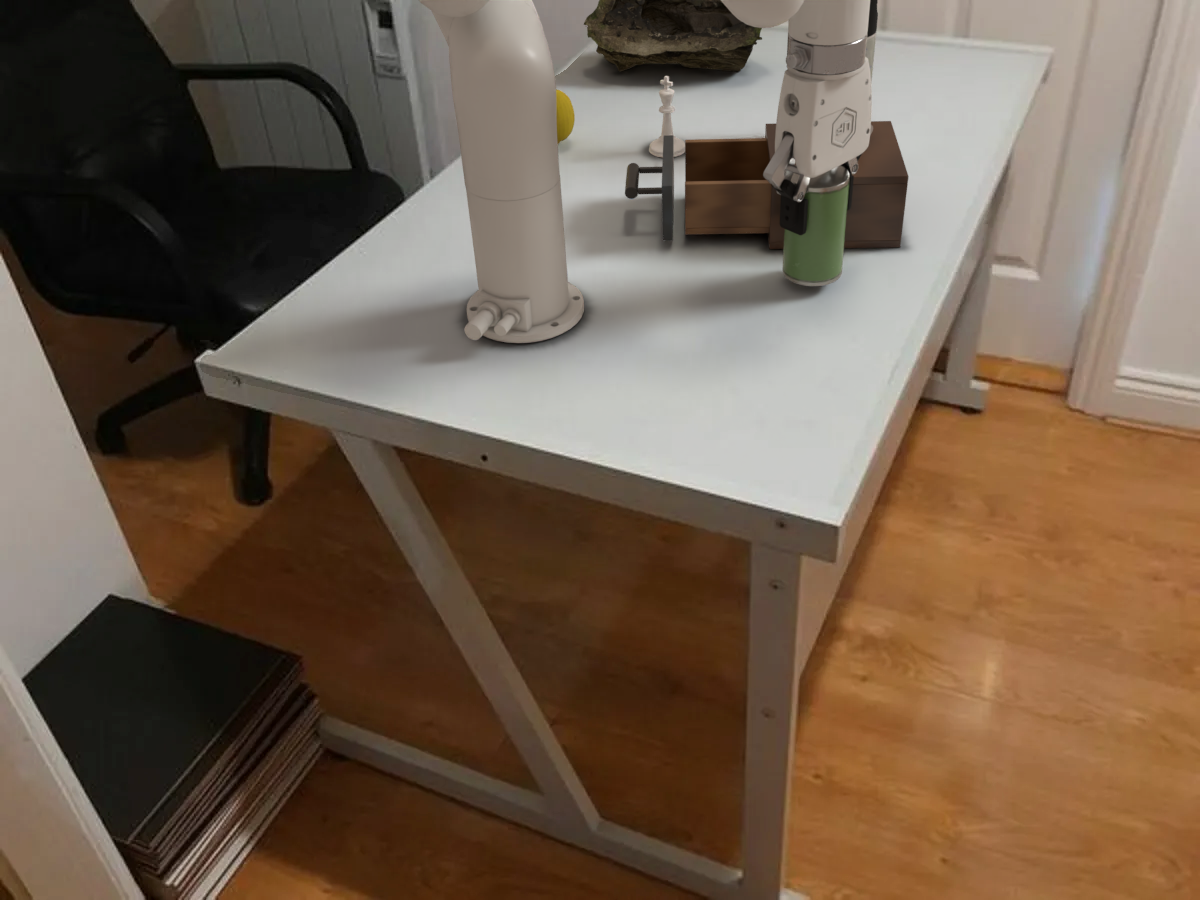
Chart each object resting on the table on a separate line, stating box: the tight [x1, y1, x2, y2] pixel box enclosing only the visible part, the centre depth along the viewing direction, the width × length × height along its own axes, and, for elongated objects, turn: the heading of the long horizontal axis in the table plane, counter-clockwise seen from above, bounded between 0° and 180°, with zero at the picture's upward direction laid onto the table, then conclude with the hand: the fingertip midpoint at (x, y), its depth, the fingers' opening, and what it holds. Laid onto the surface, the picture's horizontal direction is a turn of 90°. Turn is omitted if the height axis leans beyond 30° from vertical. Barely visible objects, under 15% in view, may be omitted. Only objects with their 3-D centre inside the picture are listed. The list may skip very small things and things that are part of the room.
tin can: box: [781, 165, 850, 287], centre depth 129 cm, size 6×6×12 cm
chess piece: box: [648, 75, 685, 158], centre depth 159 cm, size 5×5×10 cm
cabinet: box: [764, 120, 909, 250], centre depth 142 cm, size 15×15×9 cm
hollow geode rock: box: [583, 0, 763, 72], centre depth 182 cm, size 28×13×15 cm
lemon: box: [556, 88, 576, 145], centre depth 162 cm, size 6×6×8 cm
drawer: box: [624, 135, 771, 242], centre depth 143 cm, size 18×14×7 cm
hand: (815, 217), depth 129 cm, fingers closed on tin can, 6 cm apart
